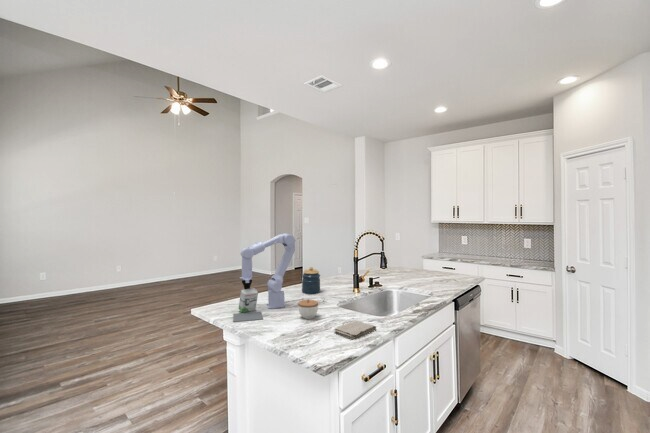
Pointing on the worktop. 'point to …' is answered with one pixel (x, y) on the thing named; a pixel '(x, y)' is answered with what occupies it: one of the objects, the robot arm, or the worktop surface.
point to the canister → (311, 281)
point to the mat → (247, 316)
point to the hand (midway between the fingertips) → (247, 292)
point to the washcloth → (354, 330)
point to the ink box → (248, 300)
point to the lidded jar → (308, 308)
